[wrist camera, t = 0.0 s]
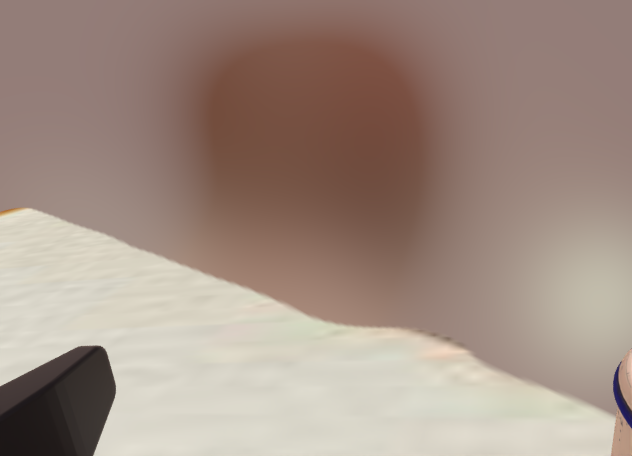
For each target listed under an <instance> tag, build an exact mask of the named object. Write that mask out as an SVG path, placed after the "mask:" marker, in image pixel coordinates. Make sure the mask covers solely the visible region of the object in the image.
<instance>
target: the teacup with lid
mask: <svg viewBox="0 0 632 456" xmlns="http://www.w3.org/2000/svg"><path fill="white" fill-rule="evenodd" d="M613 391H614V396H615V400H616V402H617V405H618V408H617V415H616V423H615V430H614V438H613V445H612V453H611V456H632V349H631V350H630V351H629V352H628V353H627V354H626V355H625V357H624V358H623V360H622V361H621V362H620V364H619V366H618V367H617V370H616V372H615V375H614V381H613Z"/></svg>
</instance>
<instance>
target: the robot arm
mask: <svg viewBox="0 0 632 456" xmlns="http://www.w3.org/2000/svg"><path fill="white" fill-rule="evenodd" d="M115 394H116V385H115V380H114V377H113V373H112V369H111V366H110V362H109V359H108V355H107V352H106V350H105V349H104V348H103V347H101V346H80V347H77V348H75V349H73V350H71V351H69V352H67V353H65V354H63V355H61V356H59V357H57V358H55V359H53V360H51V361H49V362H47V363H45V364H43V365H41V366H39V367H37V368H35V369H34V370H32V371H30V372H28V373H26V374H24V375H22V376H20V377H18V378H16V379H14V380H12V381H10V382H8V383H6V384H4V385H2V386H0V456H93V455H94V452H95V450H96V447H97V444H98V441H99V439H100V436H101V433H102V431H103V428H104V425H105V423H106V420H107V417H108V415H109V412H110V409H111V407H112V404H113V401H114V398H115Z"/></svg>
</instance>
